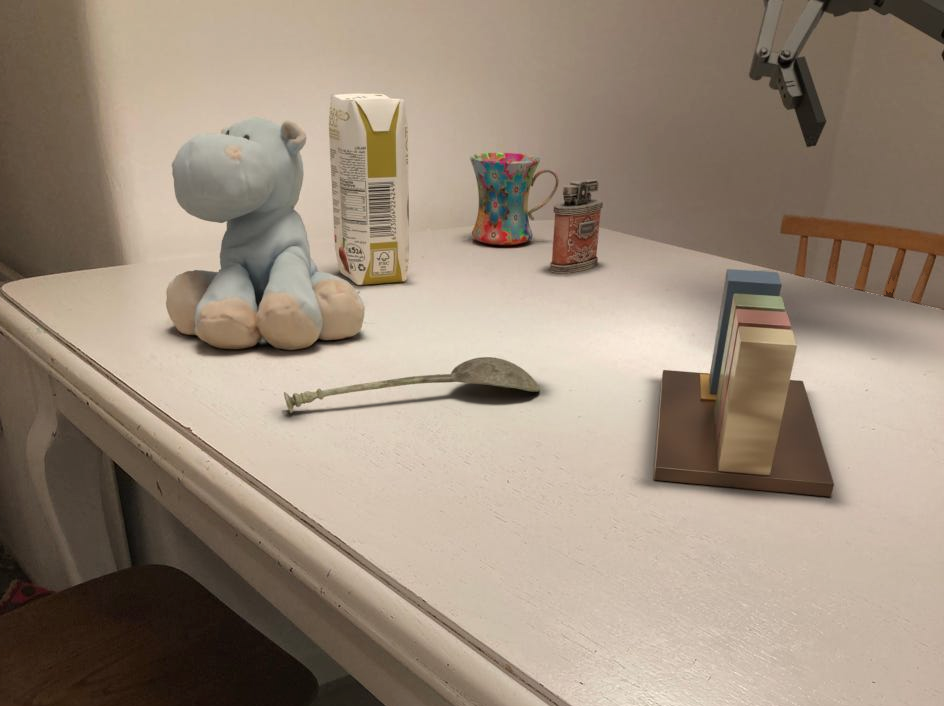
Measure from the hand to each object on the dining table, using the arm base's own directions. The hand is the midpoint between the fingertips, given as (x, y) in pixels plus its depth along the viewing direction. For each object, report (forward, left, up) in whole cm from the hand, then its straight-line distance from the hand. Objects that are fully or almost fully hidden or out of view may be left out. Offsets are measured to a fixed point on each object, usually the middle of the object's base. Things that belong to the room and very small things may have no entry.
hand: (897, 119), depth 79 cm
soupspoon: (+36, +19, -21) cm, 46 cm away
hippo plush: (+56, 0, -21) cm, 60 cm away
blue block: (+10, +13, -19) cm, 26 cm away
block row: (+10, +20, -20) cm, 31 cm away
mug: (+38, -46, -21) cm, 63 cm away
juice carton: (+51, -21, -21) cm, 59 cm away
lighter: (+28, -33, -21) cm, 48 cm away
